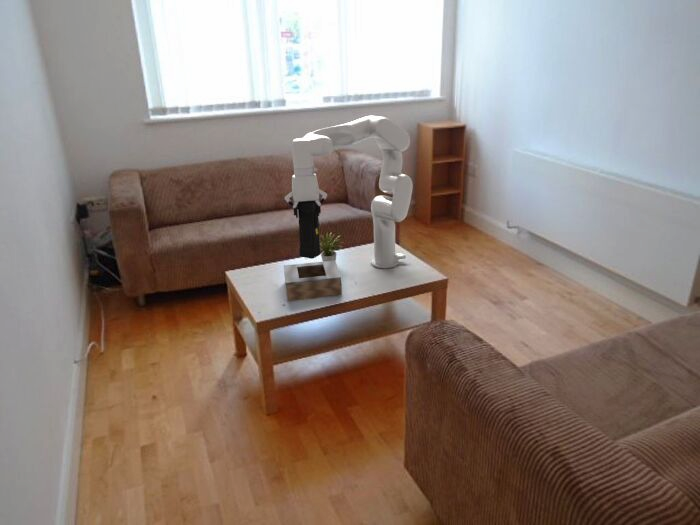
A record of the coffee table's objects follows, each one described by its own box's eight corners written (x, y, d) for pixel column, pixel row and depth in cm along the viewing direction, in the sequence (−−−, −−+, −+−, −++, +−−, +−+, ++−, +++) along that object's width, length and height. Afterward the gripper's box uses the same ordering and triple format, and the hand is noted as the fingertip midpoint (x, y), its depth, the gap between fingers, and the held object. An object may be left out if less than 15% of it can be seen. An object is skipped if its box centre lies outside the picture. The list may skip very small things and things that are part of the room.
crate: (336, 277, 225) (335, 260, 222) (342, 295, 209) (341, 277, 206) (285, 282, 222) (283, 265, 219) (287, 301, 206) (285, 282, 203)
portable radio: (323, 254, 211) (321, 195, 201) (315, 259, 206) (312, 198, 196) (307, 251, 214) (304, 192, 205) (299, 256, 210) (295, 196, 200)
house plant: (324, 276, 227) (322, 241, 221) (306, 267, 237) (303, 233, 231) (349, 267, 235) (348, 233, 229) (331, 259, 245) (329, 226, 239)
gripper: (325, 167, 201) (328, 211, 208) (280, 171, 199) (284, 215, 206) (328, 172, 194) (330, 216, 201) (281, 175, 192) (285, 220, 199)
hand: (307, 215), depth 204 cm, fingers closed on portable radio, 7 cm apart
